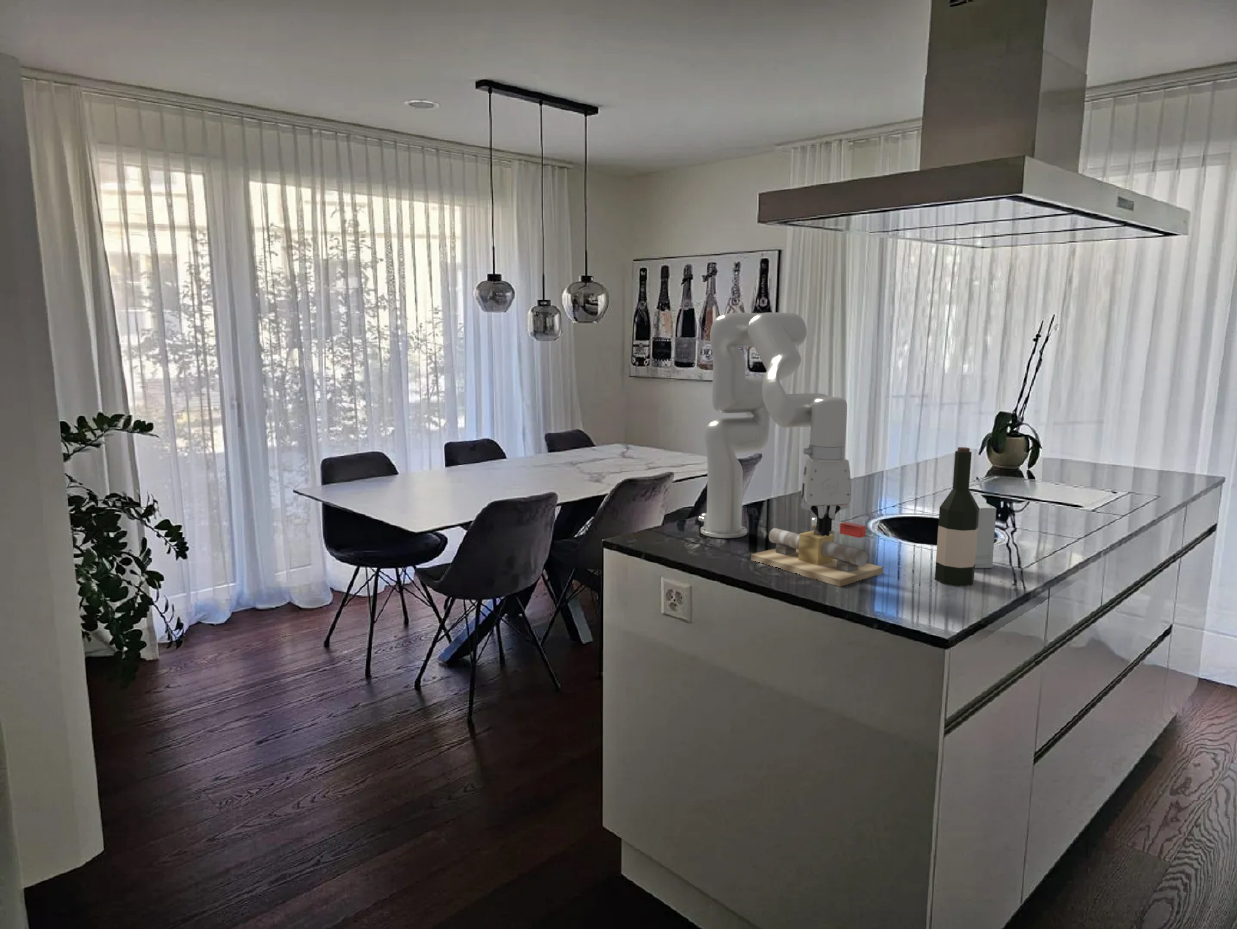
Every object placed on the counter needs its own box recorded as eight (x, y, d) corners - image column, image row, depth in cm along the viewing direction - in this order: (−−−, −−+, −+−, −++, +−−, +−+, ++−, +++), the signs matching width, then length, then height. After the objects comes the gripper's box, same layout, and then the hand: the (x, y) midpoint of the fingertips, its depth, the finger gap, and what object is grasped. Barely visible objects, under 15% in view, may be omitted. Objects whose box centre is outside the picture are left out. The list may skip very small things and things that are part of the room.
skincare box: (981, 561, 201) (985, 501, 198) (993, 569, 195) (998, 507, 192) (947, 562, 200) (951, 502, 198) (958, 569, 194) (963, 507, 192)
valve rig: (751, 560, 201) (752, 522, 200) (794, 549, 211) (795, 513, 209) (839, 586, 181) (841, 544, 179) (882, 573, 191) (885, 533, 189)
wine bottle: (960, 588, 180) (970, 451, 175) (926, 579, 187) (935, 447, 182) (981, 581, 185) (992, 448, 180) (948, 573, 191) (957, 444, 186)
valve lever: (859, 538, 184) (859, 527, 184) (809, 527, 195) (809, 517, 194) (865, 536, 186) (866, 525, 186) (815, 525, 196) (816, 515, 196)
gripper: (799, 456, 178) (795, 539, 181) (866, 455, 179) (862, 538, 182) (789, 451, 185) (786, 531, 188) (854, 450, 187) (850, 529, 190)
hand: (823, 534), depth 185 cm, fingers closed
